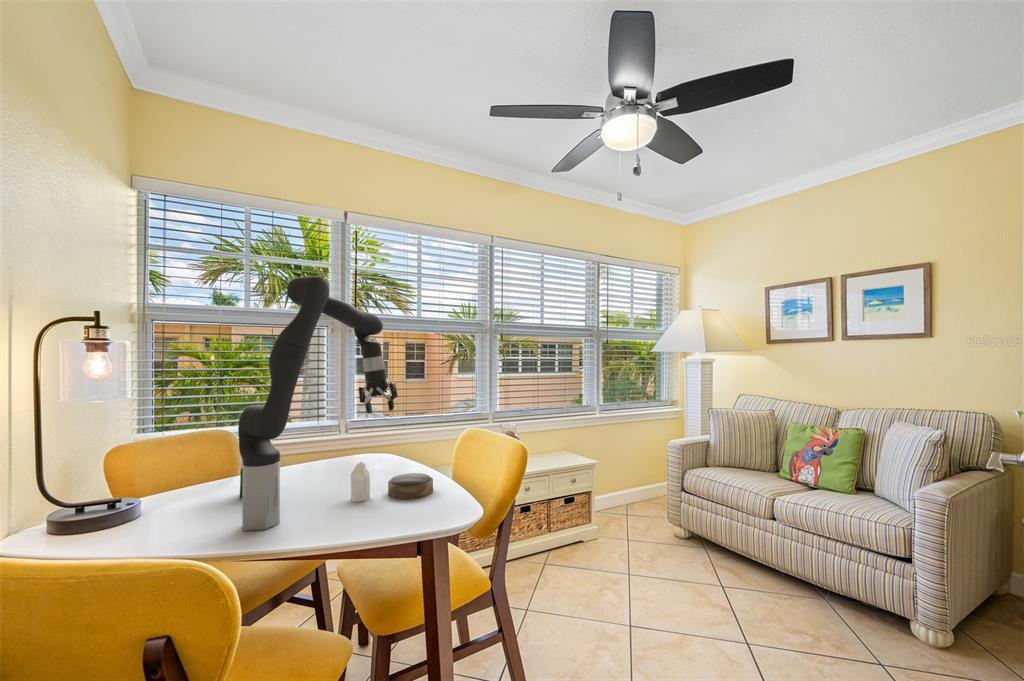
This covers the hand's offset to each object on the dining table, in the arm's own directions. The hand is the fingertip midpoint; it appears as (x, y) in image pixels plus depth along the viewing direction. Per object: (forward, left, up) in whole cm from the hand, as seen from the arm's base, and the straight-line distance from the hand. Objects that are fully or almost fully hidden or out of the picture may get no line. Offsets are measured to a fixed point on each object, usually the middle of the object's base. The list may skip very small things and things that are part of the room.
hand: (380, 411), depth 172 cm
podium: (-17, -12, -26) cm, 33 cm away
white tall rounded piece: (-21, +4, -26) cm, 34 cm away
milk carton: (-9, +40, -26) cm, 49 cm away
